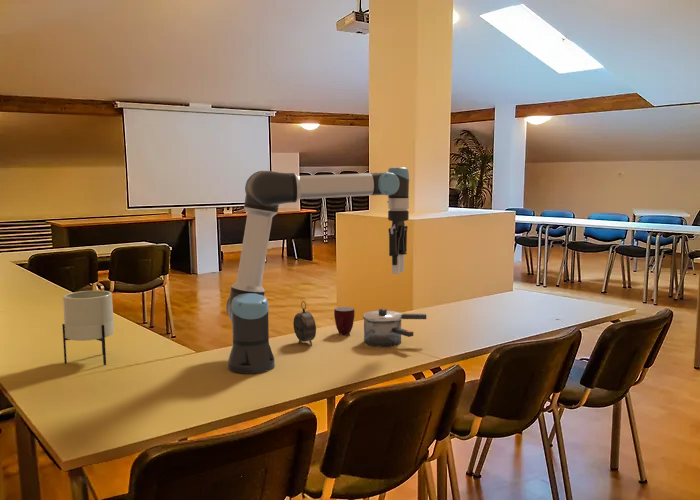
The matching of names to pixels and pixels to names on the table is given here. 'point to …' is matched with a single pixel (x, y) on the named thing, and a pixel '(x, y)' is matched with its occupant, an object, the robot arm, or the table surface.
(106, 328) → the planter
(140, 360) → the table surface
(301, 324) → the alarm clock
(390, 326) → the pot
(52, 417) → the table surface
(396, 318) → the lid
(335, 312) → the mug
